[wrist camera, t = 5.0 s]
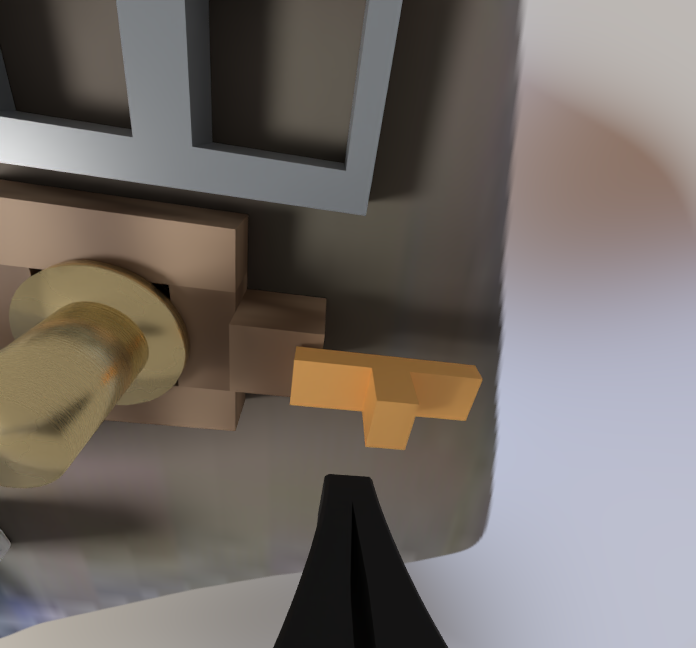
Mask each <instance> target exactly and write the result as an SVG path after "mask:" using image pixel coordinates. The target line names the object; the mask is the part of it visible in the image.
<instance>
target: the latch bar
mask: <svg viewBox="0 0 696 648" xmlns="http://www.w3.org/2000/svg"><path fill="white" fill-rule="evenodd" d="M482 380H483V379H482V377H481V375H480V374H479V372H478V370H477V368H476V367H475V365H466V364H456V363H447V362H438V361H428V360H419V359H410V358H400V357H391V356H382V355H372V354H363V353H354V352H345V351H335V350H326V349H317V348H307V347H298V346H296V352H295V358H294V366H293V377H292V387H291V398H290V405H297V406H308V407H319V408H330V409H341V410H352V411H362V414H363V425H364V436H365V446H366V447H375V448H388V449H400V450H405V448H406V444H407V441H408V438H409V435H410V432H411V429H412V426H413V423H414V419H415V416H418V417H429V418H440V419H451V420H462V421H466V419H467V416H468V414H469V411H470V409H471V406H472V404H473V402H474V399H475V397H476V394H477V392H478V390H479V387H480V385H481V382H482Z"/></svg>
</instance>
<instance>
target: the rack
mask: <svg viewBox="0 0 696 648" xmlns="http://www.w3.org/2000/svg"><path fill="white" fill-rule="evenodd" d="M402 2H403V0H366V7H365V14H364V22H363V29H362V36H361V44H360V51H359V59H358V66H357V74H356V81H355V89H354V96H353V104H352V111H351V118H350V126H349V133H348V141H347V148H346V156H345V163H340V162H334V161H328V160H321V159H315V158H309V157H302V156H296V155H290V154H284V153H277V152H271V151H265V150H259V149H252V148H246V147H240V146H233V145H227V144H221V143H215V142H212V106H211V69H210V32H209V0H116V3H117V12H118V20H119V28H120V36H121V45H122V53H123V61H124V69H125V77H126V86H127V94H128V102H129V110H130V119H131V127H132V129H127V128H121V127H114V126H108V125H102V124H96V123H89V122H83V121H77V120H70V119H64V118H58V117H52V116H45V115H39V114H33V113H27V112H20V111H16V109H15V105H14V101H13V97H12V93H11V89H10V85H9V81H8V77H7V73H6V69H5V65H4V61H3V57H2V53H1V49H0V163H7V164H14V165H21V166H28V167H35V168H41V169H48V170H55V171H62V172H69V173H76V174H83V175H89V176H96V177H103V178H110V179H117V180H124V181H131V182H137V183H144V184H151V185H158V186H165V187H172V188H179V189H185V190H192V191H199V192H206V193H213V194H220V195H227V196H233V197H240V198H247V199H254V200H261V201H268V202H275V203H281V204H288V205H295V206H302V207H309V208H316V209H323V210H329V211H336V212H343V213H350V214H357V215H364V216H366V212H367V206H368V200H369V194H370V188H371V182H372V177H373V171H374V165H375V159H376V153H377V147H378V142H379V136H380V130H381V124H382V118H383V112H384V107H385V101H386V95H387V89H388V83H389V77H390V72H391V66H392V60H393V54H394V48H395V42H396V37H397V31H398V25H399V19H400V13H401V7H402Z"/></svg>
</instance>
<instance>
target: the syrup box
mask: <svg viewBox="0 0 696 648" xmlns="http://www.w3.org/2000/svg"><path fill="white" fill-rule="evenodd" d="M10 547H11V543H10V541H9V540H8V538H7V537H6V536H5V534H4V533H3V531H2V530H1V529H0V561H1V560H2V558H3V557H4V555H5V554H6V553H7V551H8V550H9V548H10Z"/></svg>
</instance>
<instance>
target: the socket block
mask: <svg viewBox="0 0 696 648" xmlns="http://www.w3.org/2000/svg"><path fill="white" fill-rule="evenodd" d="M71 260H92V261H99V262H105V263H109V264H112V265H116V266H119V267H121V268H124V269H126V270H129V271H131V272H133V273H135V274H137V275H139V276H140V277H142V278H144V279H145V280H147V281H148V282H151V283H159V284H168V285H169V291H170V301H171V302H172V304H173V305H174V306H175V307H176V309H177V310H178V312H179V314H180V315H181V317H182V319H183V321H184V323H185V325H186V329H187V332H188V335H189V342H190V352H189V358H188V361H187V364H186V366H185V368H184V370H183V372H182V373H181V375H180V377H179V378H178V380H177V382H176V383H175V384H174V385H173V387H172V388H171V389H169V390H168V391H167V392H166V393H164V394H163V395H161V396H160V397H158V398H155V399H153V400H151V401H147V402H144V403H139V404H133V405H115V406H114V408H113V409H112V410H111V412H110V413H109V414H108V416H107V417H106V418H105V420H108V421H120V422H132V423H144V424H156V425H168V426H180V427H192V428H204V429H217V430H229V431H235V430H236V427H237V424H238V421H239V418H240V414H241V411H242V408H243V405H244V402H245V393H254V394H265V395H276V396H286V397H291V387H292V377H293V366H294V358H295V352H296V346H298V347H307V348H317V349H323V344H324V337H325V318H326V298H319V297H311V296H302V295H294V294H286V293H278V292H269V291H261V290H253V289H247V260H248V214H241V213H234V212H227V211H220V210H213V209H206V208H199V207H192V206H185V205H178V204H171V203H163V202H156V201H149V200H142V199H135V198H128V197H121V196H114V195H107V194H100V193H93V192H86V191H79V190H72V189H65V188H57V187H50V186H43V185H36V184H29V183H22V182H15V181H8V180H1V179H0V350H1V349H3V348H4V347H6V346H7V345H9V344H10V343H11V342H13V341H14V340H15V339H14V337H13V335H12V331H11V327H10V321H9V309H10V304H11V300H12V298H13V296H14V294H15V292H16V290H17V289H18V288H19V286H20V285H21V284H22V283H23V282H24V281H26V280H27V279H28V278H29V277H31V276H33V275H35V274H36V273H38V272H40V271H42V270H44V269H46V268H48V267H49V266H52V265H55V264H58V263H61V262H66V261H71Z"/></svg>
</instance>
